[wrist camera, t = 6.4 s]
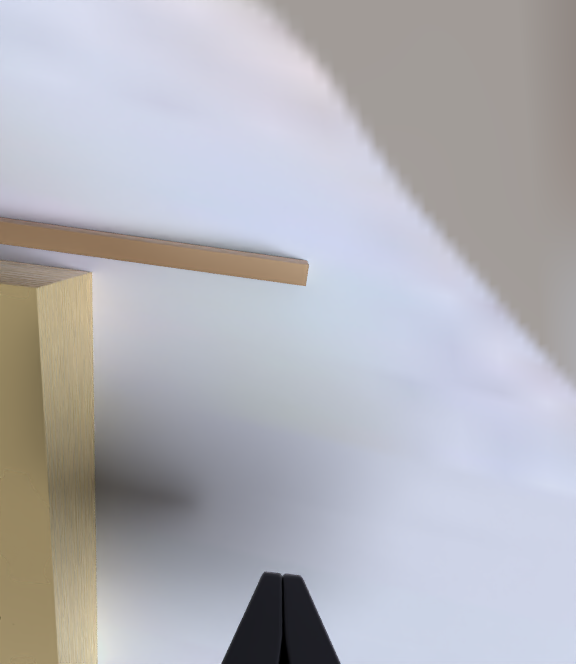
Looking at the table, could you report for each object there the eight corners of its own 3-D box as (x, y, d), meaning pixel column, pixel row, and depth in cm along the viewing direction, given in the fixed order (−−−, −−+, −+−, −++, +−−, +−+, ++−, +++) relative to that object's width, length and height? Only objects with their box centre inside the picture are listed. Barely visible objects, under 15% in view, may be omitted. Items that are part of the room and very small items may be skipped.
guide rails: (240, 695, 12) (237, 729, 11) (-141, 660, 11) (-172, 693, 10) (306, 260, 8) (308, 264, 7) (-275, 178, 7) (-341, 173, 7)
